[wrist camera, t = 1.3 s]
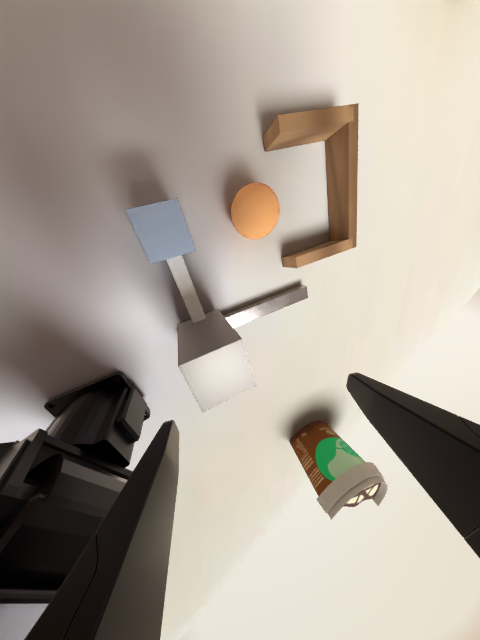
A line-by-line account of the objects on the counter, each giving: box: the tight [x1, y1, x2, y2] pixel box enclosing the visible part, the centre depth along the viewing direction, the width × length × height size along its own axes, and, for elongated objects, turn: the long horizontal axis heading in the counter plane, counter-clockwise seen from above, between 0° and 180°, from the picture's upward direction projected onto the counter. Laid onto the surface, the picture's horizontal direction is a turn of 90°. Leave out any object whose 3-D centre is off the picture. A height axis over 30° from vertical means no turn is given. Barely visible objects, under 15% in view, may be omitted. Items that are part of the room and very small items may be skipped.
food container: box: [290, 421, 388, 519], centre depth 27 cm, size 12×6×10 cm, turn 64°
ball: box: [231, 183, 279, 239], centre depth 14 cm, size 4×4×4 cm
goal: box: [263, 104, 358, 268], centre depth 17 cm, size 8×11×2 cm
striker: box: [125, 198, 256, 412], centre depth 13 cm, size 4×12×8 cm, turn 16°
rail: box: [223, 285, 308, 328], centre depth 19 cm, size 15×1×1 cm, turn 106°
